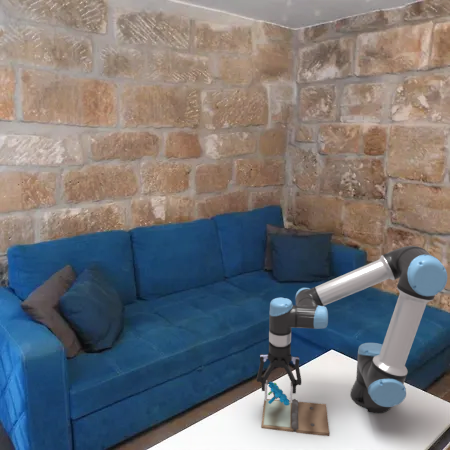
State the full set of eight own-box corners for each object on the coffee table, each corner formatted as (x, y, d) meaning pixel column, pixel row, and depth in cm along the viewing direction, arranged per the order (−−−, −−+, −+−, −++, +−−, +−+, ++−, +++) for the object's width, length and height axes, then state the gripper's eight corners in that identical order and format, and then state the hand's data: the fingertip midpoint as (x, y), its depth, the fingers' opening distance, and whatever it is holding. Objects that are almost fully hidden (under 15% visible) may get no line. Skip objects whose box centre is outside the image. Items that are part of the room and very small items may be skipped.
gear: (293, 408, 150) (273, 390, 149) (281, 419, 151) (261, 402, 149) (287, 390, 161) (268, 374, 159) (275, 401, 162) (256, 385, 160)
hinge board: (325, 406, 163) (326, 401, 162) (329, 436, 148) (329, 430, 147) (264, 401, 166) (264, 396, 165) (261, 429, 151) (261, 423, 150)
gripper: (310, 338, 153) (308, 395, 158) (250, 334, 156) (250, 390, 161) (311, 349, 146) (308, 408, 151) (248, 345, 149) (248, 403, 154)
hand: (278, 399), depth 156 cm, fingers closed on gear, 8 cm apart
